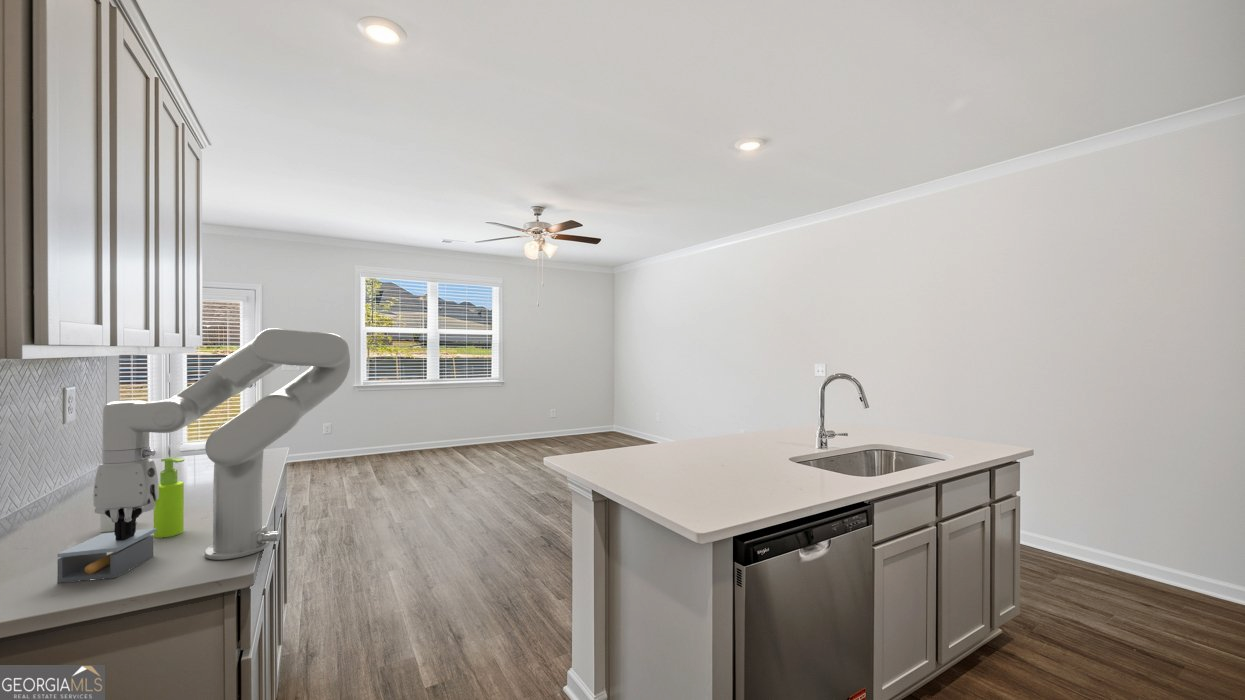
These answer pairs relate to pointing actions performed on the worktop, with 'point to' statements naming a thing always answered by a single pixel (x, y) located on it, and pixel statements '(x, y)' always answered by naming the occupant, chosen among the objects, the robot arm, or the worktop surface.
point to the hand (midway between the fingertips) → (125, 538)
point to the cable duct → (104, 562)
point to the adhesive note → (107, 523)
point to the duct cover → (105, 543)
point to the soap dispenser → (169, 502)
